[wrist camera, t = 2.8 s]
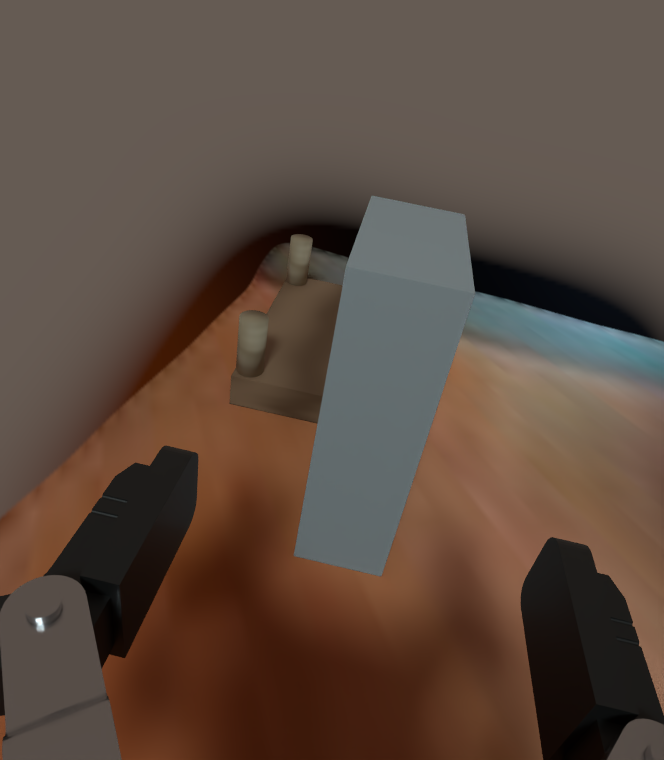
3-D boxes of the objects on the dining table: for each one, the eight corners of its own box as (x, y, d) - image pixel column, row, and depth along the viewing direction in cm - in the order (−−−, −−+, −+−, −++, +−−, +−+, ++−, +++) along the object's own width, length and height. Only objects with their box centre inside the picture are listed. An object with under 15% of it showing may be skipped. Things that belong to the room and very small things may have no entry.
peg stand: (407, 322, 45) (423, 259, 42) (395, 440, 33) (417, 362, 30) (286, 296, 45) (294, 231, 42) (229, 403, 33) (234, 322, 30)
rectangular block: (393, 458, 31) (464, 214, 24) (381, 576, 25) (474, 293, 17) (323, 442, 32) (371, 195, 24) (293, 555, 25) (346, 266, 17)
